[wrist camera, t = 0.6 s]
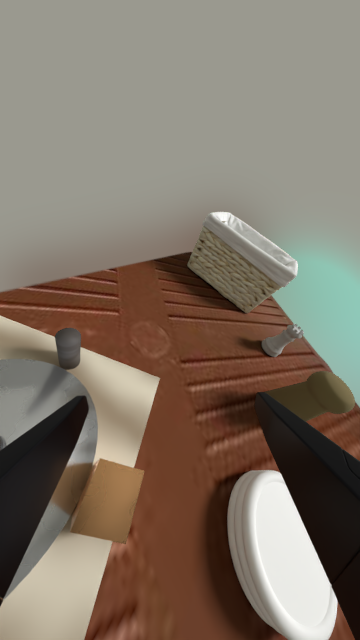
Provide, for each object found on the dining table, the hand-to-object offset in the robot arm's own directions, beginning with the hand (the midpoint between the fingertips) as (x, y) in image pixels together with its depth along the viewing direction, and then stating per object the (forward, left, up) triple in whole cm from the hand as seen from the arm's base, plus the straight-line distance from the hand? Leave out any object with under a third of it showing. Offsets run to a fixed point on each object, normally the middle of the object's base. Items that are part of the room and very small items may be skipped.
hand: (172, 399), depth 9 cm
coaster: (-4, -18, -14) cm, 23 cm away
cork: (+10, -23, -14) cm, 28 cm away
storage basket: (+43, -13, -14) cm, 47 cm away
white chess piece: (+24, -25, -14) cm, 37 cm away
